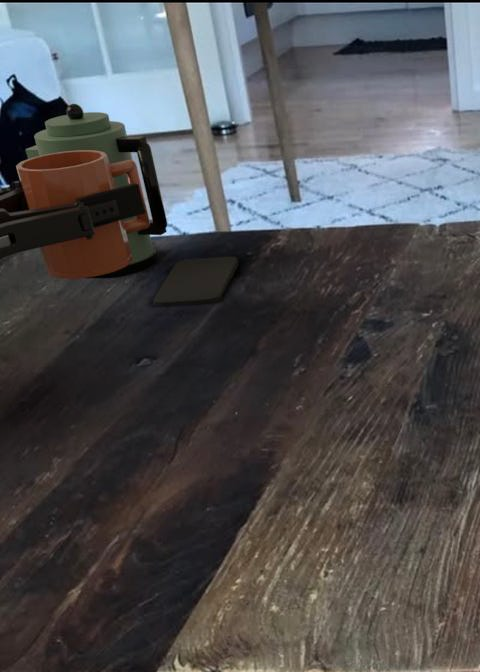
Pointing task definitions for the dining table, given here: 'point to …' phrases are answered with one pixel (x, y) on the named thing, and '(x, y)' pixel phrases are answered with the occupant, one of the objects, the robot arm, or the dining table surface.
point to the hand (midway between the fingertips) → (114, 192)
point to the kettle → (114, 142)
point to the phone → (196, 281)
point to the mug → (64, 188)
